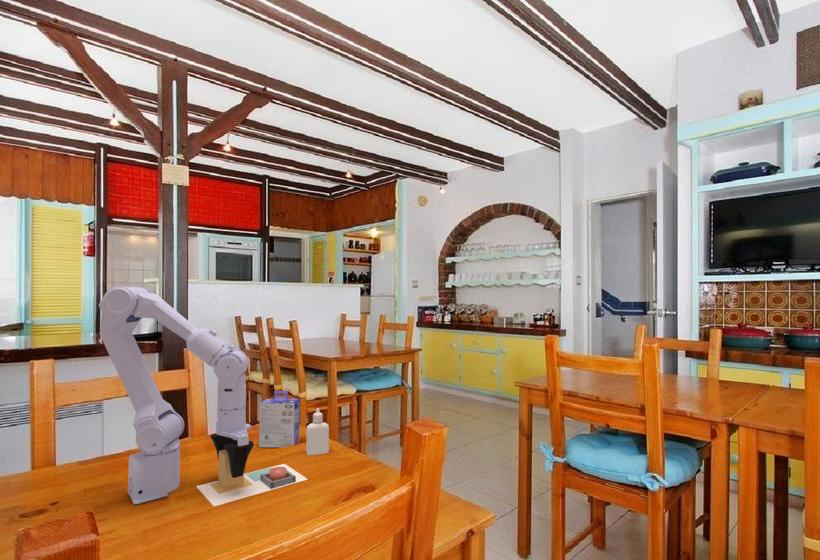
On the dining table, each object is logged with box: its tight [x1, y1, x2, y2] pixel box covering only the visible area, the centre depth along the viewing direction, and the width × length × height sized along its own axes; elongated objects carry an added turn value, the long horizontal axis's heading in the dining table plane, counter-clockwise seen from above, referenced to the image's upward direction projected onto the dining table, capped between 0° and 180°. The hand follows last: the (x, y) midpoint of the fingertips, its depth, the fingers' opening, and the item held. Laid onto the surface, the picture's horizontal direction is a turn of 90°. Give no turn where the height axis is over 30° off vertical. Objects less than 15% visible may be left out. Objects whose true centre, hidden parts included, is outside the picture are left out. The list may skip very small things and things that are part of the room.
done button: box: [269, 467, 287, 481], centre depth 102 cm, size 4×4×2 cm
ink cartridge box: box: [258, 390, 300, 449], centre depth 128 cm, size 10×6×14 cm, turn 89°
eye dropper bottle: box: [305, 407, 330, 456], centre depth 120 cm, size 4×6×12 cm
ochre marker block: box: [218, 450, 245, 490], centre depth 100 cm, size 4×4×7 cm
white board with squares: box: [196, 463, 308, 507], centre depth 101 cm, size 20×12×2 cm, turn 130°
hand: (231, 471), depth 100 cm, fingers open, 7 cm apart
